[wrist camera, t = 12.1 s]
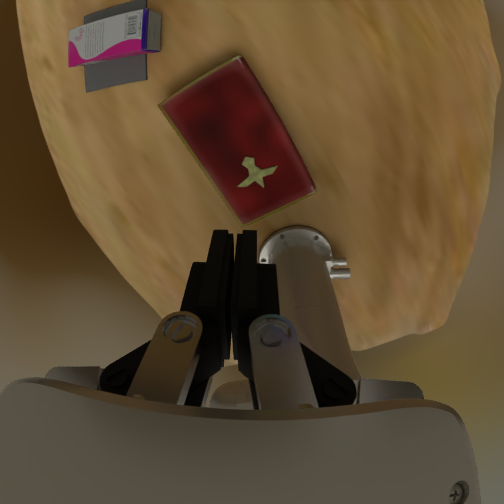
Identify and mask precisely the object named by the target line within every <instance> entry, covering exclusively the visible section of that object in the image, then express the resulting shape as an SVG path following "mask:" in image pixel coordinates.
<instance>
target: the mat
mask: <svg viewBox="0 0 504 504" xmlns="http://www.w3.org/2000/svg"><path fill="white" fill-rule="evenodd" d="M141 9H147V0H135V1H131V2H127V3H124V4H120V5H117V6H114V7H110V8H107V9H104V10H101V11H98V12H96V13H93V14H90V15H87V16H85V17H84V25H85V24H88V23H91V22H94V21H97V20H101V19H104V18H107V17H111V16H115V15H119V14H123V13H127V12H131V11H136V10H141ZM84 69H85V85H86V93H87V92H91V91H95V90H99V89H103V88H107V87H111V86H116V85H120V84H125V83H130V82H136V81H142V80H147V56H146V54H140V55H134V56H128V57H122V58H117V59H113V60H108V61H103V62H99V63H95V64H91V65H84Z"/></svg>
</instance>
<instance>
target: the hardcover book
mask: <svg viewBox="0 0 504 504" xmlns="http://www.w3.org/2000/svg"><path fill="white" fill-rule="evenodd" d="M158 107H159V108H160V110H161V111H162V113H163V114H164V115H165V117H166V118H167V120H168V121H169V123H170V124H171V125H172V127H173V128H174V130H175V131H176V133H177V134H178V136H179V137H180V138H181V140H182V141H183V143H184V144H185V146H186V147H187V149H188V150H189V151H190V153H191V154H192V156H193V157H194V159H195V160H196V162H197V163H198V164H199V166H200V167H201V169H202V170H203V172H204V173H205V175H206V176H207V177H208V179H209V180H210V182H211V183H212V185H213V186H214V188H215V189H216V191H217V192H218V193H219V195H220V196H221V198H222V199H223V201H224V202H225V204H226V205H227V207H228V208H229V209H230V211H231V212H232V214H233V215H234V217H235V218H236V220H237V221H238V223H239V224H240V225H241V227H242V228H243V227H245V226H247V225H250V224H252V223H254V222H256V221H258V220H260V219H262V218H264V217H266V216H268V215H271V214H273V213H275V212H277V211H279V210H281V209H283V208H285V207H288V206H290V205H292V204H294V203H296V202H298V201H300V200H303V199H305V198H307V197H309V196H311V195H313V194H316V192H317V191H316V186H315V184H314V182H313V180H312V178H311V176H310V174H309V172H308V170H307V168H306V166H305V164H304V162H303V160H302V158H301V156H300V154H299V152H298V150H297V149H296V147H295V145H294V143H293V141H292V139H291V137H290V135H289V134H288V132H287V130H286V128H285V126H284V124H283V123H282V121H281V119H280V117H279V115H278V114H277V112H276V110H275V108H274V107H273V105H272V103H271V102H270V100H269V98H268V96H267V95H266V93H265V91H264V90H263V88H262V86H261V85H260V83H259V82H258V80H257V78H256V77H255V75H254V74H253V72H252V70H251V69H250V67H249V66H248V64H247V63H246V61H245V59H244V58H243V56H242V55H237V56H235V57H233V58H232V59H230V60H228V61H226V62H224V63H223V64H221V65H219V66H217V67H215V68H214V69H212V70H210V71H209V72H207V73H205V74H204V75H202V76H200V77H199V78H197V79H195V80H194V81H192V82H191V83H189V84H188V85H186V86H185V87H183V88H182V89H180V90H179V91H177V92H176V93H174V94H173V95H171V96H170V97H168V98H167V99H165V100H164V101H163V102H161V103H160V104H159V105H158Z"/></svg>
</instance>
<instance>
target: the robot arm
mask: <svg viewBox="0 0 504 504" xmlns="http://www.w3.org/2000/svg"><path fill="white" fill-rule="evenodd" d="M346 264H347V260H346V258H333V257H332V249H331V246H330V243H329V242H328V240H327V238H326V237H325V236H324V235H323V234H322V233H320V232H318V231H317V230H315V229H312V228H309V227H304V226H294V227H288V228H284V229H281V230H279V231H277V232H275V233H274V234H272V235H271V236H270V237H269V238H268V239H267V240H266V241H265V242H264V244H263V245H262V247H261V250H260V252H259V263H257V230H243V234H237V242H236V252H235V262H234V238H233V234H228V230H214V231H213V235H212V239H211V244H210V248H209V252H208V257H207V261H206V262H193V264H192V267H191V271H190V274H189V278H188V282H187V285H186V289H185V293H184V297H183V301H182V304H181V308H180V311H178V312H173V313H171V314H169V315H167V316H166V317H164V318H163V319H162V320H161V322H160V323H159V325H158V327H157V329H156V331H155V333H154V335H153V337H152V340H150V341H148V342H147V343H145V344H143V345H142V346H140V347H138V348H137V349H135V350H133V351H132V352H130V353H128V354H127V355H125V356H123V357H121V358H120V359H118V360H116V361H115V362H113V363H111V364H110V365H108V366H107V367H106V368H105V369H101V368H100V367H99V366H88V367H54V368H52V369H51V370H49V371H48V373H47V374H46V376H45V378H40V377H34V378H23V379H19V380H15V381H13V382H11V383H9V384H8V385H6V386H5V388H4V389H3V390H2V392H1V393H0V504H481V498H480V488H479V480H478V472H477V466H476V462H475V457H474V453H473V449H472V444H471V441H470V438H469V435H468V432H467V430H466V427H465V425H464V422H463V421H462V419H461V417H460V415H459V414H458V413H457V412H456V411H455V410H454V409H453V408H452V407H450V406H448V405H446V404H443V403H440V402H437V401H433V400H426V399H424V396H423V392H422V390H421V389H420V388H419V387H418V386H417V385H416V384H414V383H411V382H404V381H389V380H376V379H366V378H361V375H360V373H359V371H358V369H357V366H356V364H355V361H354V358H353V355H352V353H351V349H350V346H349V343H348V339H347V336H346V332H345V328H344V325H343V321H342V317H341V313H340V309H339V306H338V302H337V298H336V295H335V291H334V288H333V284H332V279H334V278H339V279H349V278H350V269H349V268H339V269H336V268H333V266H346ZM231 334H232V341H233V355H234V360H238V368H239V371H240V372H241V373H242V374H243V375H244V376H246V377H247V379H242V380H235V381H231V382H227V383H225V384H222V385H221V386H219V387H218V388H217V389H216V390H215V391H214V393H213V395H212V397H211V400H210V407H209V408H207V407H205V404H206V400H207V397H208V393H209V390H210V386H211V383H212V377H213V375H214V374H215V373H217V372H218V371H219V370H220V369H221V367H224V359H230V347H231Z"/></svg>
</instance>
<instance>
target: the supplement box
mask: <svg viewBox="0 0 504 504" xmlns="http://www.w3.org/2000/svg"><path fill="white" fill-rule="evenodd" d="M161 19H162V15H161V14H159V13H156V12H155V11H152V10H151V9H148V8H147V9H141V10H136V11H131V12H127V13H123V14H119V15H115V16H111V17H107V18H104V19H101V20H97V21H94V22H91V23H88V24H85V25H82V26H79V27H76V28H73V29H71V30H69V49H68V58H69V67H76V66H83V65H91V64H95V63H99V62H103V61H108V60H113V59H117V58H122V57H128V56H134V55H140V54H146V53H154V52H160V31H161Z"/></svg>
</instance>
